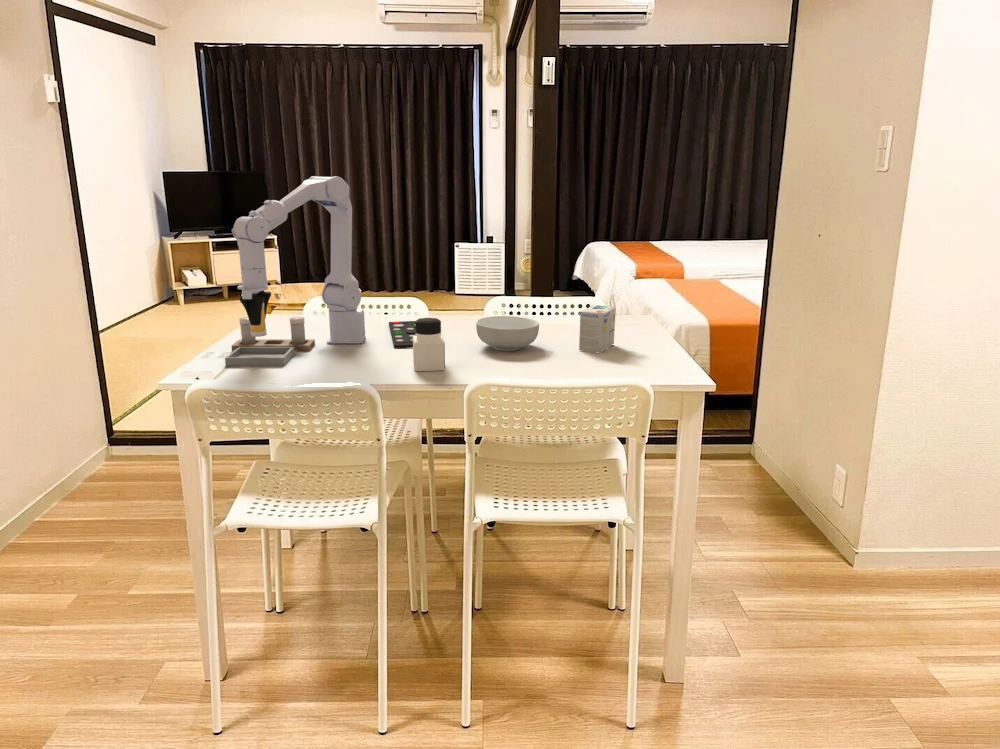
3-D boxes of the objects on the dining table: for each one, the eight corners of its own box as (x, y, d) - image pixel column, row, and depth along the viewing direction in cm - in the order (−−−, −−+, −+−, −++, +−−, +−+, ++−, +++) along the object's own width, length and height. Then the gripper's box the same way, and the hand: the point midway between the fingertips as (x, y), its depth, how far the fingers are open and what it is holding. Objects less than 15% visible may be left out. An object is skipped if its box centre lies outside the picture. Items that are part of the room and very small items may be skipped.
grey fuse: (307, 346, 194) (305, 316, 192) (304, 349, 190) (302, 319, 188) (293, 346, 194) (291, 316, 191) (290, 349, 190) (288, 319, 188)
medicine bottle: (445, 370, 171) (444, 321, 168) (414, 372, 170) (413, 322, 167) (442, 363, 178) (441, 315, 175) (413, 364, 177) (412, 316, 174)
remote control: (425, 325, 223) (425, 318, 222) (436, 348, 194) (435, 341, 194) (388, 326, 221) (388, 320, 220) (394, 350, 192) (394, 343, 192)
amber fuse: (268, 333, 180) (265, 301, 178) (264, 336, 176) (261, 304, 174) (253, 333, 180) (250, 301, 177) (249, 336, 176) (246, 304, 174)
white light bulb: (258, 346, 193) (255, 316, 191) (254, 349, 190) (251, 319, 187) (244, 346, 193) (241, 317, 191) (240, 349, 190) (237, 319, 187)
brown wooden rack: (315, 344, 195) (314, 339, 195) (309, 351, 189) (309, 345, 188) (240, 344, 195) (239, 339, 194) (231, 351, 188) (231, 345, 187)
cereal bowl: (509, 358, 183) (509, 331, 181) (463, 347, 194) (463, 321, 192) (551, 347, 195) (552, 321, 193) (505, 337, 206) (505, 313, 204)
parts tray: (294, 354, 185) (294, 346, 185) (284, 365, 175) (283, 357, 174) (239, 354, 185) (238, 346, 184) (225, 365, 174) (224, 357, 174)
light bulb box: (591, 342, 200) (593, 304, 197) (614, 345, 198) (616, 306, 195) (578, 350, 191) (579, 310, 188) (602, 353, 188) (604, 313, 185)
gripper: (245, 263, 180) (250, 317, 184) (226, 272, 166) (232, 329, 170) (274, 264, 180) (278, 317, 184) (257, 272, 166) (262, 329, 170)
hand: (258, 323), depth 177 cm, fingers closed on amber fuse, 3 cm apart
